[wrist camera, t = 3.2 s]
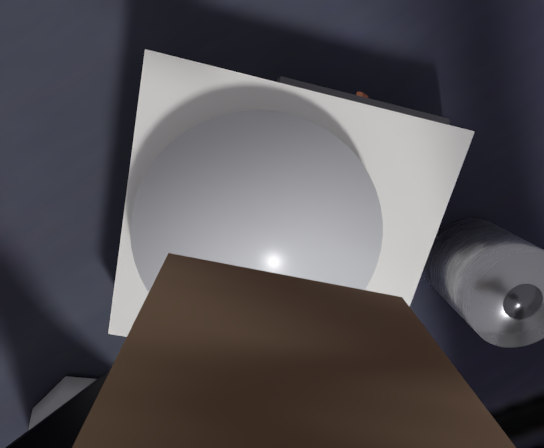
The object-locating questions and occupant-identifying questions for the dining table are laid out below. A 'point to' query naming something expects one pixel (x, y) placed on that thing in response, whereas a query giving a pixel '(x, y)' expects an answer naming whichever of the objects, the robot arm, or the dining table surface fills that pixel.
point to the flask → (58, 397)
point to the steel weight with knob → (490, 280)
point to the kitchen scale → (279, 182)
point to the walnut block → (280, 369)
